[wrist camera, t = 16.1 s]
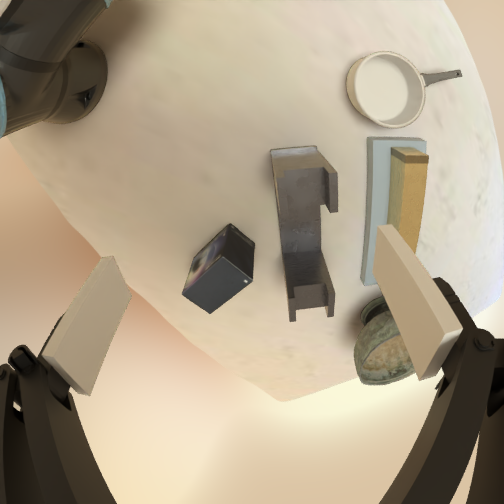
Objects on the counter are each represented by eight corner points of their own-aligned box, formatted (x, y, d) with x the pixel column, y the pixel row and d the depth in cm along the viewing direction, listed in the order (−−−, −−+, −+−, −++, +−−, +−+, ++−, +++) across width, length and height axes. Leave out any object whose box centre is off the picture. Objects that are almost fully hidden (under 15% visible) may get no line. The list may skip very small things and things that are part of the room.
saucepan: (451, 102, 33) (470, 107, 29) (357, 131, 38) (370, 138, 34) (431, 41, 28) (449, 39, 23) (330, 64, 33) (340, 61, 28)
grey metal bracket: (284, 275, 54) (289, 323, 43) (270, 149, 41) (275, 173, 30) (320, 271, 53) (333, 318, 42) (315, 145, 40) (337, 168, 29)
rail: (378, 280, 51) (387, 297, 47) (390, 146, 37) (405, 155, 33) (396, 277, 51) (406, 294, 46) (412, 147, 36) (428, 155, 32)
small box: (228, 220, 47) (222, 255, 39) (256, 243, 50) (256, 281, 41) (191, 257, 52) (179, 295, 43) (218, 276, 54) (211, 316, 45)
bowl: (406, 332, 64) (424, 377, 51) (338, 342, 65) (350, 393, 53) (428, 273, 53) (458, 321, 41) (350, 281, 54) (371, 338, 42)
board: (360, 278, 54) (364, 285, 52) (367, 137, 39) (372, 140, 37) (403, 271, 53) (407, 279, 51) (419, 137, 38) (426, 141, 36)
